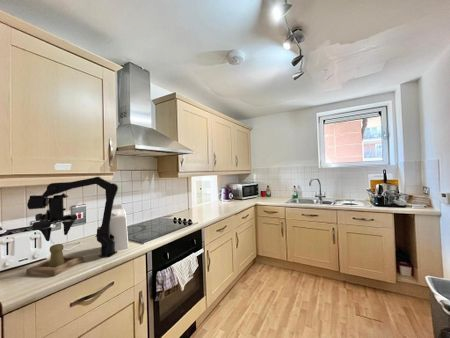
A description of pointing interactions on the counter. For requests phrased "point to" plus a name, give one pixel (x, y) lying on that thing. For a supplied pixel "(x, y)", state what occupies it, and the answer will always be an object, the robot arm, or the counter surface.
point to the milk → (119, 227)
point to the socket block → (45, 270)
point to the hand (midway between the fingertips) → (57, 237)
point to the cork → (56, 255)
